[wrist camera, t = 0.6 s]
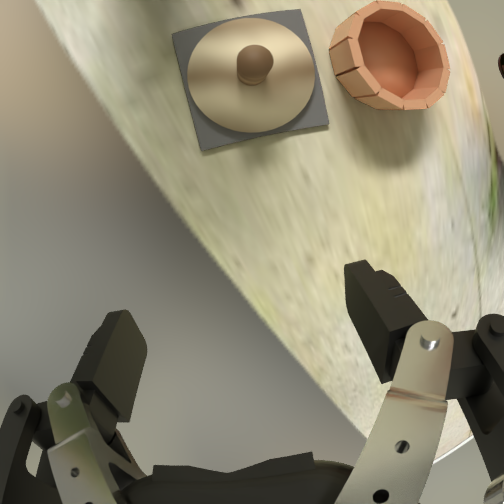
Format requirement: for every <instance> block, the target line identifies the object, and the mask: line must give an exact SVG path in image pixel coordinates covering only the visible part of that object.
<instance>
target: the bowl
mask: <svg viewBox="0 0 504 504" xmlns="http://www.w3.org/2000/svg"><path fill="white" fill-rule="evenodd" d="M425 19H426V18H425V17H423V16H422V15H420V14H419V13H417V12H415V11H414V10H412V9H411V8H409V7H408V6H406V5H404V4H402V5H401V3H397V2H388V1H378V0H377V1H376V2H375V1H374V2H372V3H370V4H368V5H367V6H365V7H363V8H362V9H360V10H358V11H357V12H355V13H354V14H353V15H351V16H350V17H349V18H348V19H346V20H345V21H344V22H343V23H341V24H340V25H339V26H338V27H337V28H336V29H335V32H334V35H333V38H332V41H331V44H330V47H329V49H330V51H329V54H330V58H331V61H332V65H333V69H334V74H335V75H338V76H337V77H336V78H337V79H338V80H339V81H340V82H341V84H342V85H343V86H344V87H345V89H346V90H347V91H348V92H349V93H350V95H351V96H352V97H355V99H356V100H358V101H360V102H363V103H365V104H367V105H369V106H371V107H373V108H375V109H378V110H411V109H427V108H430V107H431V106H432V105H433V104H434V103H435V102H436V101H438V100H439V99H440V98H441V97H442V96H443V95H444V94H443V93H445V92H446V88H447V83H448V79H449V75H450V71H449V70H448V69H450V66H449V61H448V57H447V53H446V49H445V45H444V44H441V43H443V41H442V40H441V38H440V37H439V35H438V34H437V32H436V31H435V29H434V28H433V27H432V25H431V24H430V23H429V21H428V20H427V21H425ZM339 74H340V75H339Z"/></svg>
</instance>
